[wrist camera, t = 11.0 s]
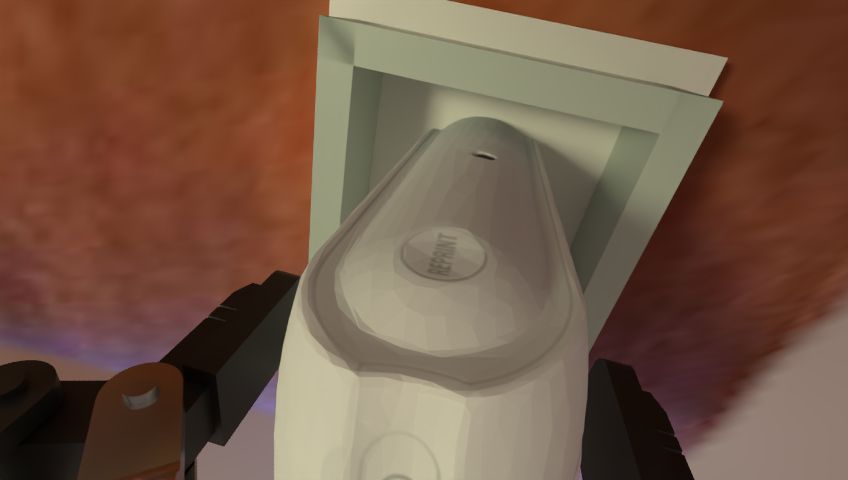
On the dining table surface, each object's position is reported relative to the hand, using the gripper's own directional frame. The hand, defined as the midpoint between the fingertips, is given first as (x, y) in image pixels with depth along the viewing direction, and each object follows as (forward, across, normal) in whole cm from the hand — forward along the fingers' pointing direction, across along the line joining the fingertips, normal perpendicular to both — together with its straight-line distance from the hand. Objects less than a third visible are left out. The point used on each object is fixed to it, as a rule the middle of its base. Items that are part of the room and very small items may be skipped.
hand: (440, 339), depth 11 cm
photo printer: (+6, 0, 0) cm, 6 cm away
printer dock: (+7, 0, 0) cm, 7 cm away
